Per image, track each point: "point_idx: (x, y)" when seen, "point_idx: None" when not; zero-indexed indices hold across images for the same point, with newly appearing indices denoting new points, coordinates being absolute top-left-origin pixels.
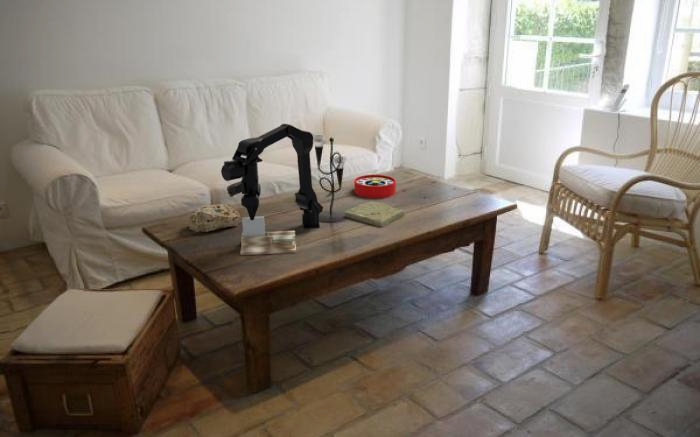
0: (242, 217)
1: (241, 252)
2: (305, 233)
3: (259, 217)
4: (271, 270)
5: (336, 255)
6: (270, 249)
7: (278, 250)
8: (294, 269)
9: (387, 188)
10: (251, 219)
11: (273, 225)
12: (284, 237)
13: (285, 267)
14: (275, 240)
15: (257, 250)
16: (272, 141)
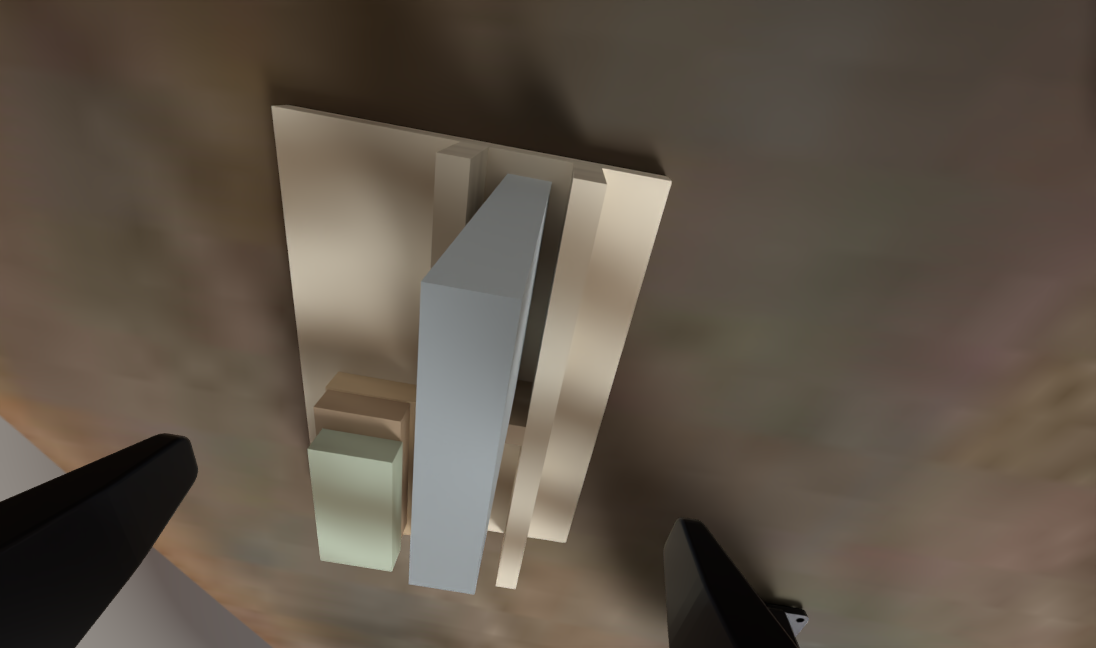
0: (500, 298)
1: (274, 117)
2: (620, 580)
3: (431, 543)
4: (11, 311)
5: (278, 616)
6: (333, 370)
7: (310, 415)
8: (65, 434)
9: None
10: (142, 459)
11: (886, 463)
12: (349, 522)
13: (84, 397)
14: (314, 455)
15: (318, 274)
16: None
